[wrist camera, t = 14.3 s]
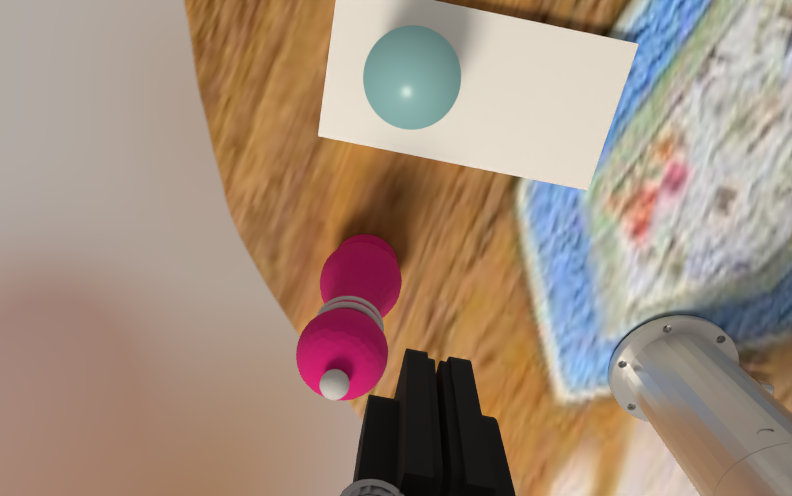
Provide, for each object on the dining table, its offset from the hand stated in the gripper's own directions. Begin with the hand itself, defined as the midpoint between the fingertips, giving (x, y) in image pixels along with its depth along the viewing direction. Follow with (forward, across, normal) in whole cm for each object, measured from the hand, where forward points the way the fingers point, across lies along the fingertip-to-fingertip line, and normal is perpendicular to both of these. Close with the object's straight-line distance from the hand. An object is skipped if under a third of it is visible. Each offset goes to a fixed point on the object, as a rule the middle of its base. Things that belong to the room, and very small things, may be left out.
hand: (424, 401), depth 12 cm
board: (+32, -3, -8) cm, 33 cm away
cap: (+29, +2, -8) cm, 30 cm away
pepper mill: (+32, +3, +10) cm, 34 cm away
